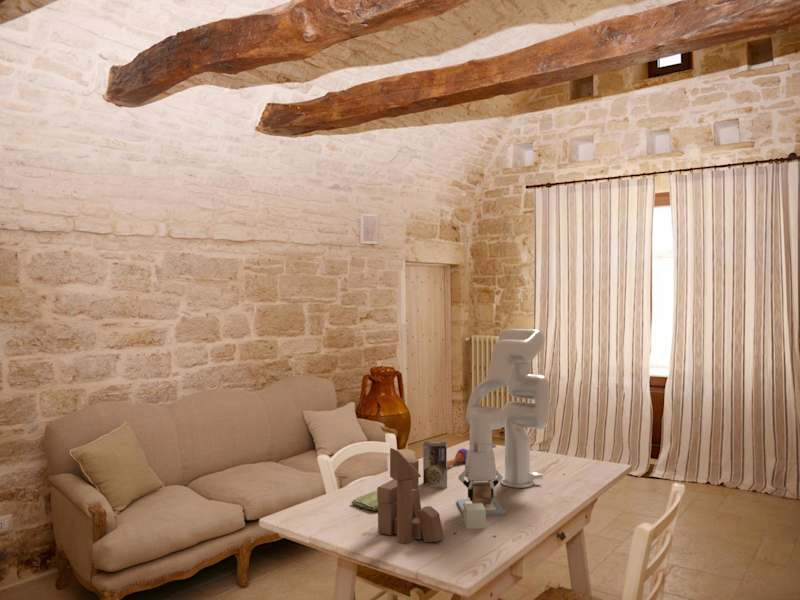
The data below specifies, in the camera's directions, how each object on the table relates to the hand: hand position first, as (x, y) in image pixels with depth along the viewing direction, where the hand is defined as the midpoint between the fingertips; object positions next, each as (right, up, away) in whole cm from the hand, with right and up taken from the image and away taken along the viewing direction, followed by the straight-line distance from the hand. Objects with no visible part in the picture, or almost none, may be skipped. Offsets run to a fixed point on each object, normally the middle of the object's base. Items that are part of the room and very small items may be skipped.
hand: (480, 499), depth 218 cm
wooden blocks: (-22, -4, -22) cm, 32 cm away
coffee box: (-14, -3, +26) cm, 30 cm away
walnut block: (0, -1, 0) cm, 1 cm away
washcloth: (-34, -4, +6) cm, 35 cm away
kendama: (-4, -3, +54) cm, 54 cm away
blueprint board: (0, -3, 0) cm, 3 cm away
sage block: (-4, -4, -15) cm, 16 cm away
